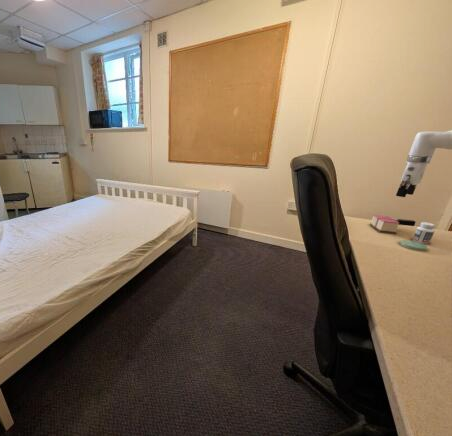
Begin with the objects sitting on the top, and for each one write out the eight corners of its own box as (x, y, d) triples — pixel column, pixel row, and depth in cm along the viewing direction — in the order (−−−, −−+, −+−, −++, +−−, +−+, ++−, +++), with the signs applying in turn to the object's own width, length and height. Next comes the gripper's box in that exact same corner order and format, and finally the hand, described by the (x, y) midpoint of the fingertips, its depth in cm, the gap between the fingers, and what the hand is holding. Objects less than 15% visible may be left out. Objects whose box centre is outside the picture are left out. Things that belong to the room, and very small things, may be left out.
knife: (409, 229, 112) (413, 220, 110) (411, 230, 110) (415, 221, 109) (374, 225, 117) (377, 217, 115) (376, 227, 115) (379, 218, 113)
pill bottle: (430, 242, 101) (438, 224, 98) (427, 245, 98) (436, 226, 95) (413, 238, 105) (420, 220, 102) (410, 240, 102) (418, 223, 99)
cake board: (384, 226, 119) (384, 224, 118) (395, 234, 109) (396, 232, 109) (369, 224, 121) (370, 223, 121) (379, 232, 112) (380, 230, 111)
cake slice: (384, 224, 118) (387, 216, 117) (389, 227, 114) (392, 218, 113) (370, 223, 120) (373, 214, 119) (374, 226, 116) (377, 217, 115)
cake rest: (390, 228, 113) (394, 219, 112) (395, 232, 109) (399, 222, 108) (375, 227, 115) (379, 218, 114) (380, 230, 111) (383, 221, 110)
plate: (418, 243, 99) (419, 241, 99) (431, 252, 92) (432, 249, 92) (395, 241, 102) (396, 238, 102) (406, 249, 95) (407, 246, 95)
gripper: (423, 161, 96) (408, 199, 102) (436, 159, 103) (421, 194, 109) (400, 160, 102) (386, 195, 108) (413, 158, 109) (400, 191, 115)
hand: (404, 195), depth 109 cm, fingers open, 9 cm apart
